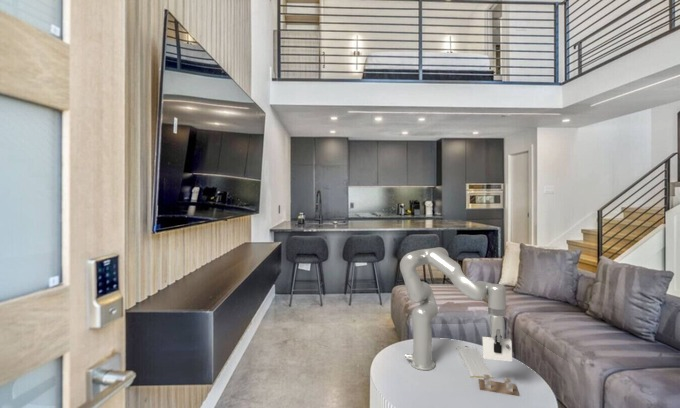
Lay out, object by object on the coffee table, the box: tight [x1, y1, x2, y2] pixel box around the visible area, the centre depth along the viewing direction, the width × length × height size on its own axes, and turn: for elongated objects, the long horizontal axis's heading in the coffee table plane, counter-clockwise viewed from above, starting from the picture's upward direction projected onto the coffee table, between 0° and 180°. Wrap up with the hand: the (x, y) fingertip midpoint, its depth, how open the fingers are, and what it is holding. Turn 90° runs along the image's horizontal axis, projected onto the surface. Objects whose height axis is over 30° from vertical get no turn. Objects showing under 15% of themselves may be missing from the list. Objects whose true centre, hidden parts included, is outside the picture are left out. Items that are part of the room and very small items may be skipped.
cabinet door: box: [481, 336, 513, 362], centre depth 157 cm, size 12×4×9 cm, turn 71°
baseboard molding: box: [457, 345, 494, 380], centre depth 182 cm, size 31×3×12 cm
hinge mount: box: [478, 374, 520, 397], centre depth 157 cm, size 16×8×4 cm, turn 72°
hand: (497, 350), depth 157 cm, fingers closed on cabinet door, 3 cm apart
